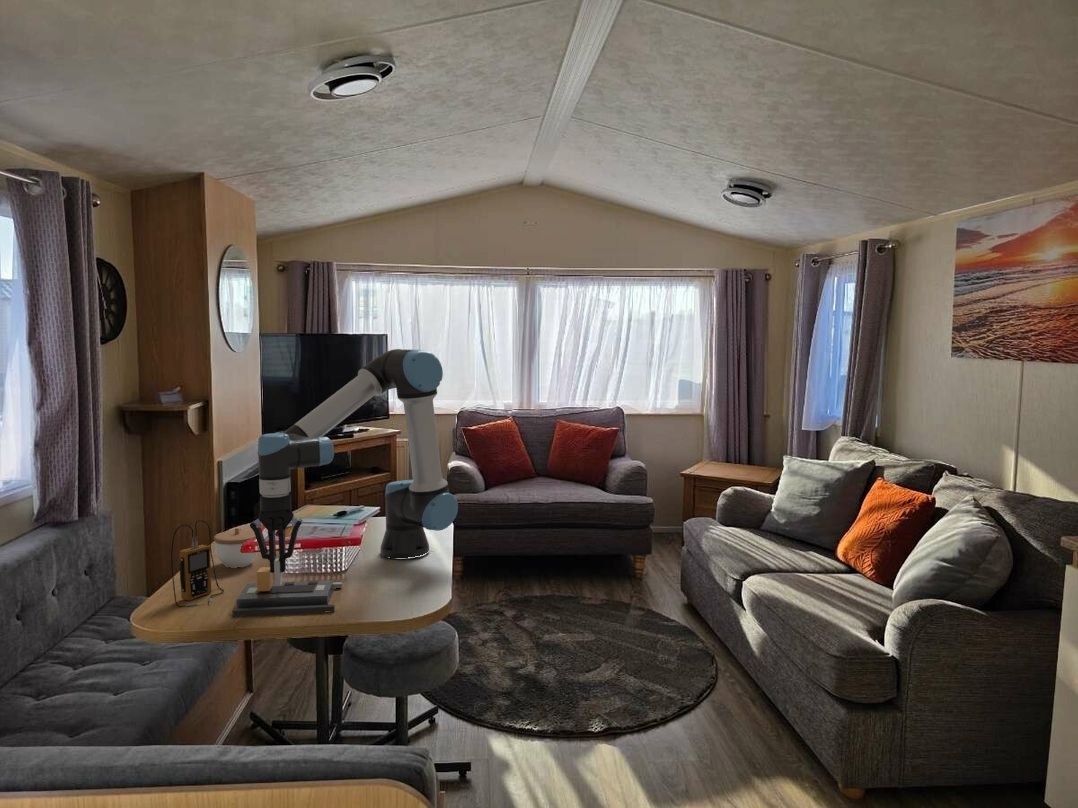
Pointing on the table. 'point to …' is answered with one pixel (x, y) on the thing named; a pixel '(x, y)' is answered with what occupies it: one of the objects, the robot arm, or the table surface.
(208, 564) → the multimeter
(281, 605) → the grey control panel
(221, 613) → the table surface
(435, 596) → the table surface
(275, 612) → the dark grey bar
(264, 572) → the orange rectangular block
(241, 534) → the lidded bowl
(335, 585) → the light grey rod
